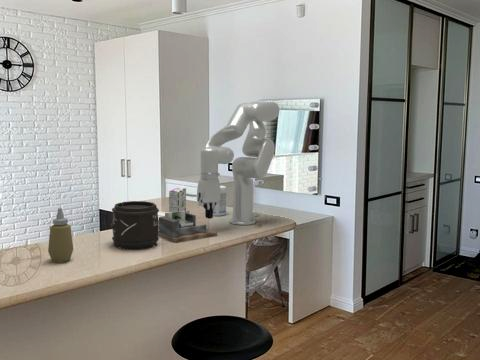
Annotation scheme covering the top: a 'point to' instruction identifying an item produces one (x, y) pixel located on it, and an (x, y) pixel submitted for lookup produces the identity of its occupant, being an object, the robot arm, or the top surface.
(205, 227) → the force tester
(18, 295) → the top surface
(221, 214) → the supplement tub
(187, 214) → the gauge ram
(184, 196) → the candy bar box
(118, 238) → the black round canister
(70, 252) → the squeeze bottle
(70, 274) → the top surface
